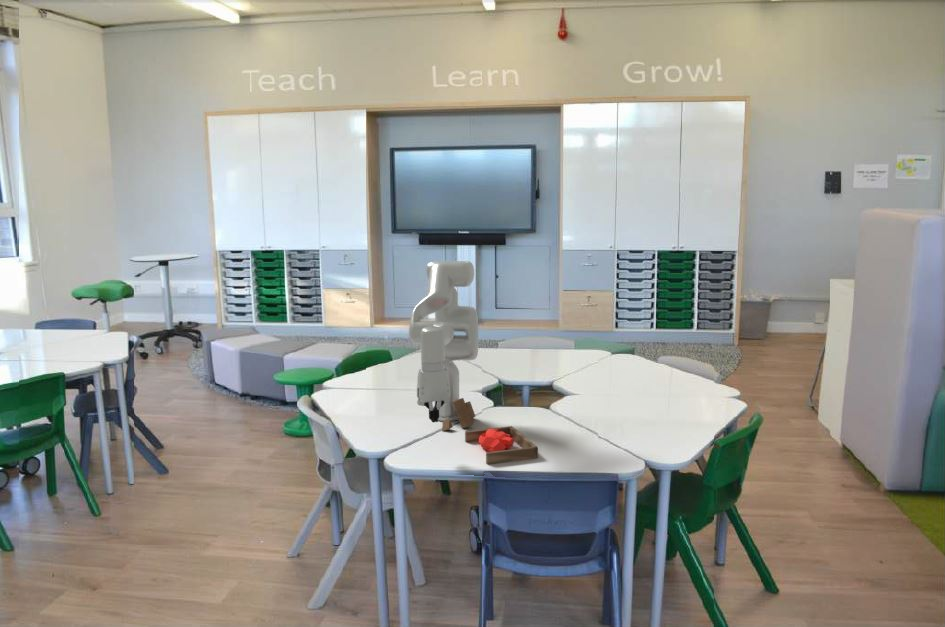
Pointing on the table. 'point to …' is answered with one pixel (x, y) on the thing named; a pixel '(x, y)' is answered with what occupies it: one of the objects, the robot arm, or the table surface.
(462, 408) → the wooden block set
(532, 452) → the frame
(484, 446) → the animal figurine
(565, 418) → the table surface
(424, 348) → the robot arm
